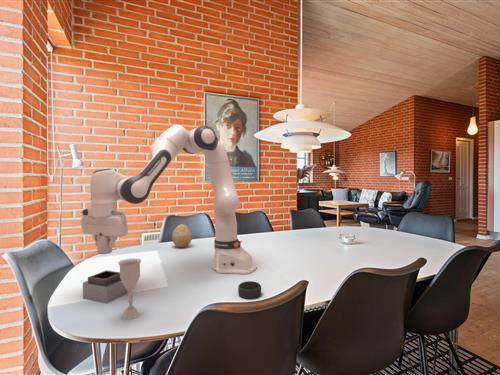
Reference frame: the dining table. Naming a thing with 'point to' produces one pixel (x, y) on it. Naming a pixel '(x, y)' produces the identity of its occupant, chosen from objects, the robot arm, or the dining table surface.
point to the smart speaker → (249, 290)
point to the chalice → (130, 282)
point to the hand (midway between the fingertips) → (104, 246)
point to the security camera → (103, 244)
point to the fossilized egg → (182, 236)
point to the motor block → (104, 287)
